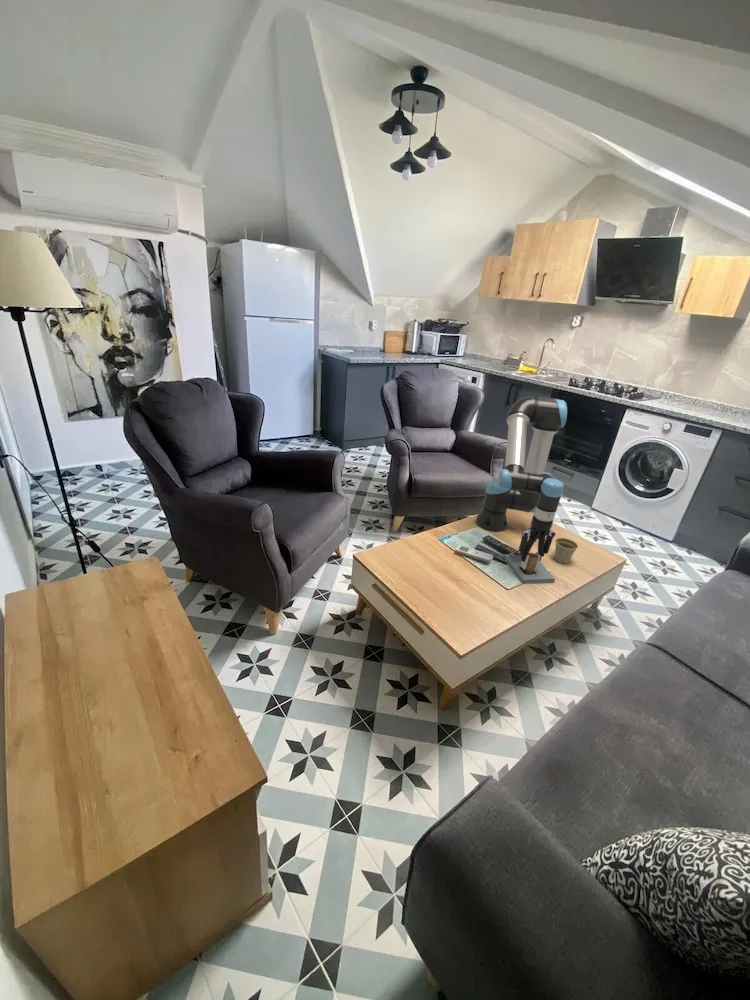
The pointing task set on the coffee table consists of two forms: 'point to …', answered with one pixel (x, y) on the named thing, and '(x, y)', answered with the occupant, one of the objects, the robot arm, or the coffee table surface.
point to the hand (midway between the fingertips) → (528, 567)
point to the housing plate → (539, 575)
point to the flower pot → (564, 549)
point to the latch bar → (515, 556)
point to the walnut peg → (530, 564)
